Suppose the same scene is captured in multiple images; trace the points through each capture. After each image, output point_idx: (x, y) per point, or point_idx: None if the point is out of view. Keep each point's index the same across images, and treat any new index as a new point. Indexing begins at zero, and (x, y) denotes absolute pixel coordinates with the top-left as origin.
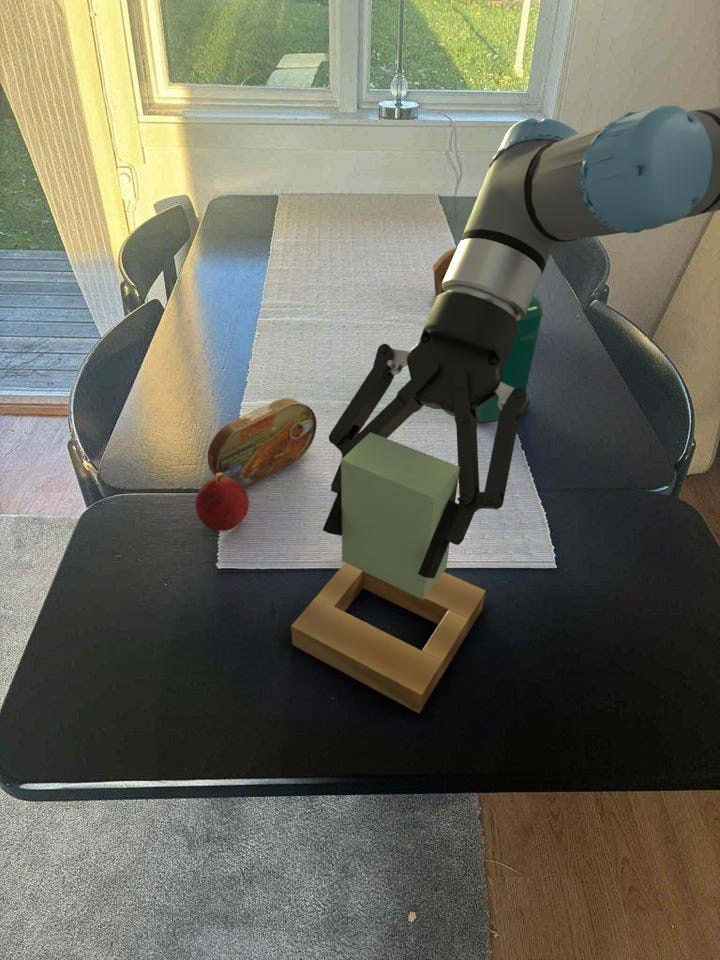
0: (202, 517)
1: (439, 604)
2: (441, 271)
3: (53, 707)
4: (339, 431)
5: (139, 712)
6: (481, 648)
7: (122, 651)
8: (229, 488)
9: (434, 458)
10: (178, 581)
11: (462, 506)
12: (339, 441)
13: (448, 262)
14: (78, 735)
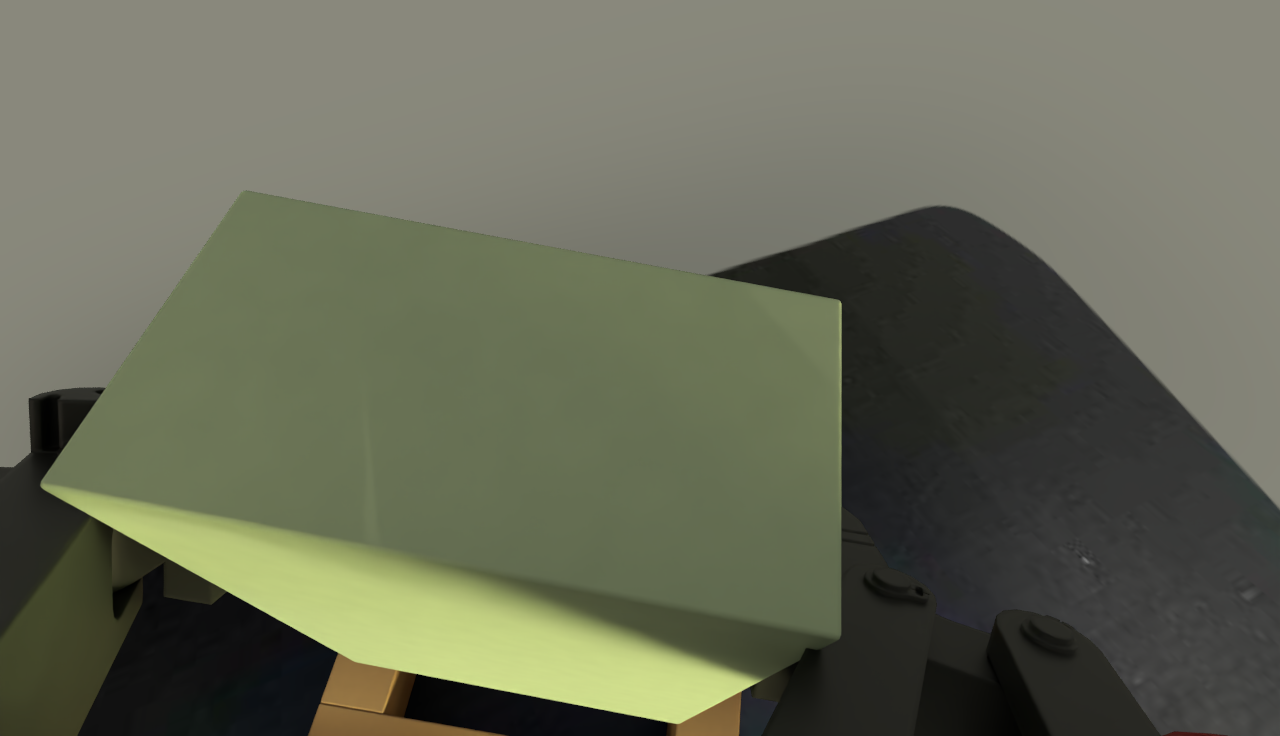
0: (1215, 734)
1: (413, 722)
2: None
3: (1000, 281)
4: (1062, 670)
5: (886, 312)
6: (299, 693)
7: (1006, 391)
8: None
9: (251, 505)
10: (1072, 581)
11: None
12: (997, 619)
13: None
14: (931, 261)
